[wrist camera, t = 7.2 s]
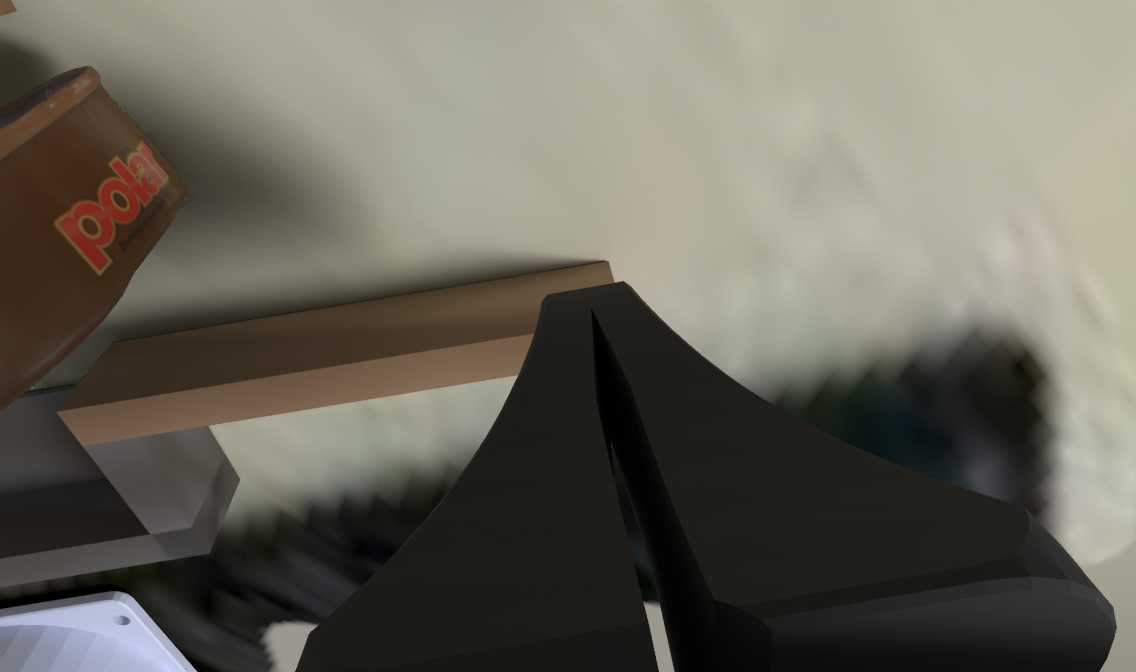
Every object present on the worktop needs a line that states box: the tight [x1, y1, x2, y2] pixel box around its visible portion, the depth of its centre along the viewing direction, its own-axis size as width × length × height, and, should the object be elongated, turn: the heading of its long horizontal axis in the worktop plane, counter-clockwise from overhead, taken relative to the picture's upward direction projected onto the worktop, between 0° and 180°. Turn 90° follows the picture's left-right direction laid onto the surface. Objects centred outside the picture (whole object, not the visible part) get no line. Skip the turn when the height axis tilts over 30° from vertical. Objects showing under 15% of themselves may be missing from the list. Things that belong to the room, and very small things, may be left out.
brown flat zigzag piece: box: [0, 0, 614, 587], centre depth 13 cm, size 17×22×2 cm
